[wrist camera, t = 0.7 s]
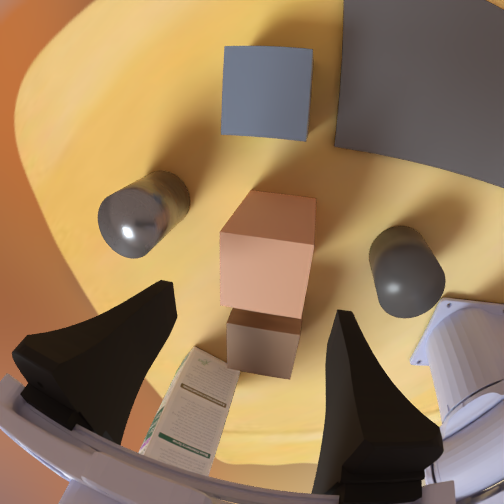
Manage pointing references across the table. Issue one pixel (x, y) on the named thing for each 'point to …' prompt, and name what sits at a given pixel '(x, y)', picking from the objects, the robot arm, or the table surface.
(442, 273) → the charcoal cylinder
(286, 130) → the slate blue block
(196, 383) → the syrup box
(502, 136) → the charcoal mat
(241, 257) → the terracotta block
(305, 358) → the table surface
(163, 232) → the dark steel can
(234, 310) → the walnut block
